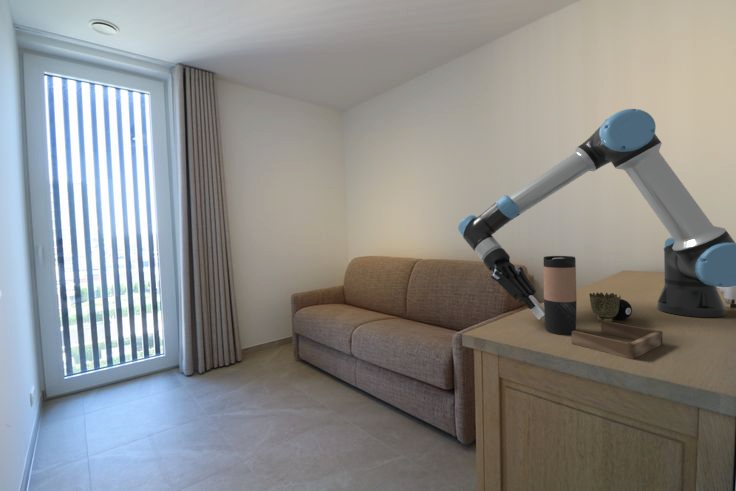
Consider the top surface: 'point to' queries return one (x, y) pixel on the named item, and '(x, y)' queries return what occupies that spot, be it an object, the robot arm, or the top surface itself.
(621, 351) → the shallow wooden tray
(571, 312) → the travel mug
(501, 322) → the top surface
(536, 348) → the top surface
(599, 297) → the cup
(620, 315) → the billiard ball
